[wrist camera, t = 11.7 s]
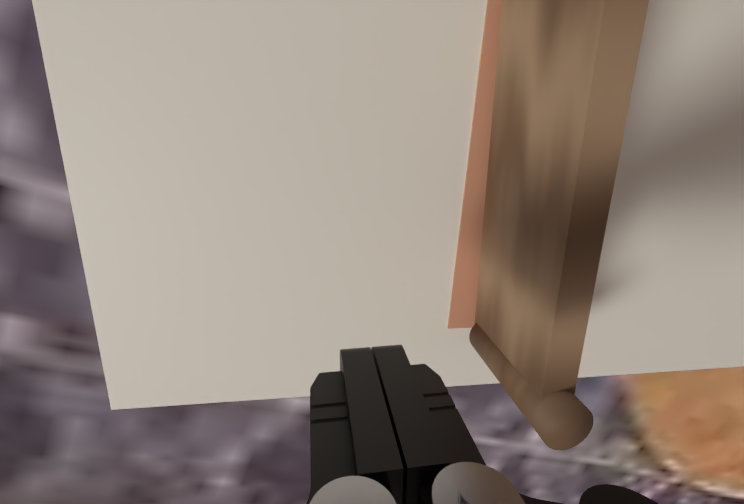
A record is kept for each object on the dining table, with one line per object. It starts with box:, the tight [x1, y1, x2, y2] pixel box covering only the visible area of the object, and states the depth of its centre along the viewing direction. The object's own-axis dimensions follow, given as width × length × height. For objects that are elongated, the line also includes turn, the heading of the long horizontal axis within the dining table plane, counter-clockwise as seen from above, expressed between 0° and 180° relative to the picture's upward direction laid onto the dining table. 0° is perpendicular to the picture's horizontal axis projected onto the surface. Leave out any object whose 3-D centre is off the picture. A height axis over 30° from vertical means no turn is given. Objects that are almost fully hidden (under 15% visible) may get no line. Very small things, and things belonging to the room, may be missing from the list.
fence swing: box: [469, 0, 649, 450], centre depth 14 cm, size 15×2×6 cm, turn 0°
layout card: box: [32, 0, 744, 410], centre depth 17 cm, size 34×24×1 cm
